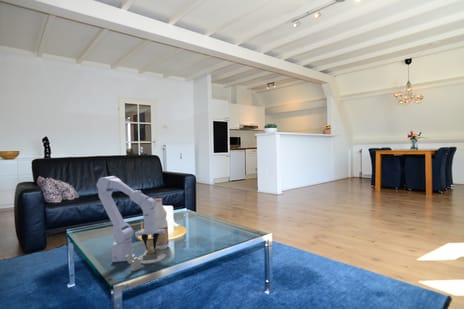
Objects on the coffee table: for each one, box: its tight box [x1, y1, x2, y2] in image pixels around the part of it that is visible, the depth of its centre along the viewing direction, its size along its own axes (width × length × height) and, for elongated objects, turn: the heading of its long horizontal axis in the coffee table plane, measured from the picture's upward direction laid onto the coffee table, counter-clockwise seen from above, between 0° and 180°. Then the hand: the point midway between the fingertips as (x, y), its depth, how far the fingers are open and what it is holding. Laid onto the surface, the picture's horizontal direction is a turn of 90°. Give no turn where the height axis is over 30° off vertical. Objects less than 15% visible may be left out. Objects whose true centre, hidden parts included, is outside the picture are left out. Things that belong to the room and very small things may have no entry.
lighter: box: [125, 254, 142, 272], centre depth 129 cm, size 7×2×8 cm, turn 144°
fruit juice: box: [150, 197, 170, 251], centre depth 160 cm, size 9×9×28 cm
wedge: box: [147, 237, 155, 254], centre depth 142 cm, size 3×5×7 cm, turn 7°
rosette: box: [138, 249, 167, 265], centre depth 142 cm, size 14×14×4 cm
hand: (151, 248), depth 142 cm, fingers closed on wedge, 3 cm apart
